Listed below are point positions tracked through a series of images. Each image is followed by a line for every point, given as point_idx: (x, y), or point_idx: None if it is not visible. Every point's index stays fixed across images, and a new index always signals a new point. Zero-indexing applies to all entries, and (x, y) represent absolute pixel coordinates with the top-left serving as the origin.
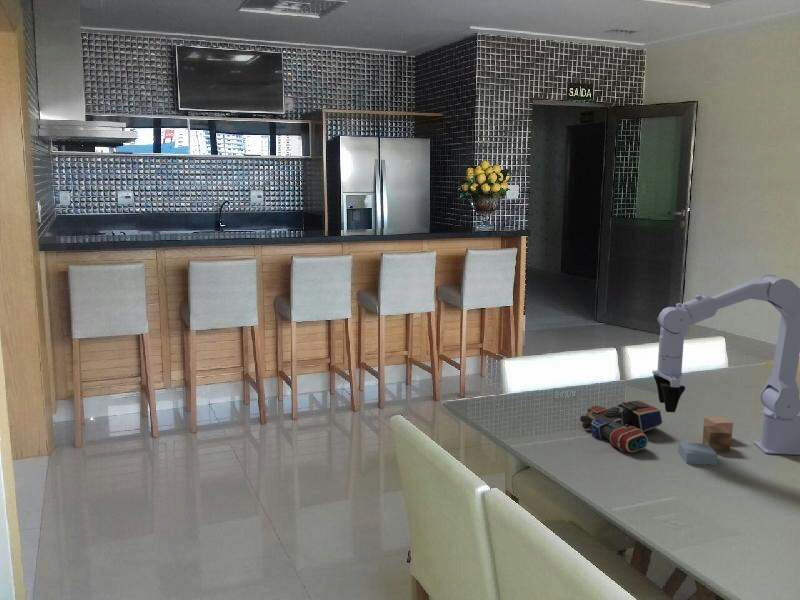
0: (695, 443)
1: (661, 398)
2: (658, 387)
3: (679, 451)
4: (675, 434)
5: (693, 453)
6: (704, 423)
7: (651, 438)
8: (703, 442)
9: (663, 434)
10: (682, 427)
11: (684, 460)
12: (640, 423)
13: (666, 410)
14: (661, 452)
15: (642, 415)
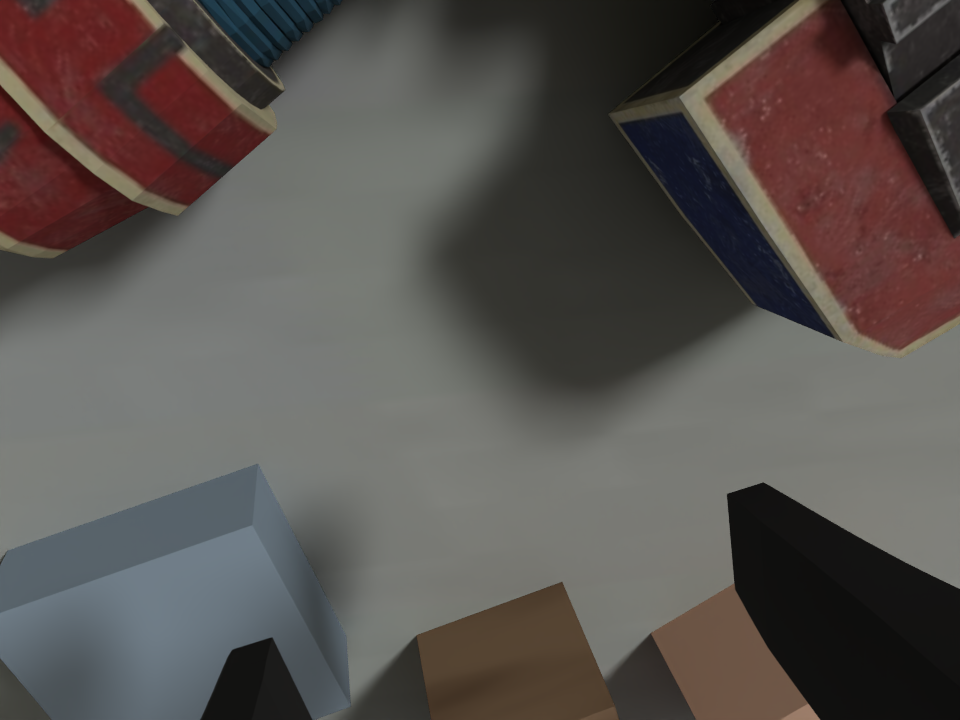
0: (308, 635)
1: (767, 557)
2: (928, 669)
3: (219, 492)
4: (738, 391)
5: (6, 662)
6: None
7: (564, 210)
8: (544, 607)
9: (713, 301)
10: (922, 418)
11: (59, 535)
12: (640, 111)
13: (223, 671)
14: (184, 339)
15: (700, 151)
